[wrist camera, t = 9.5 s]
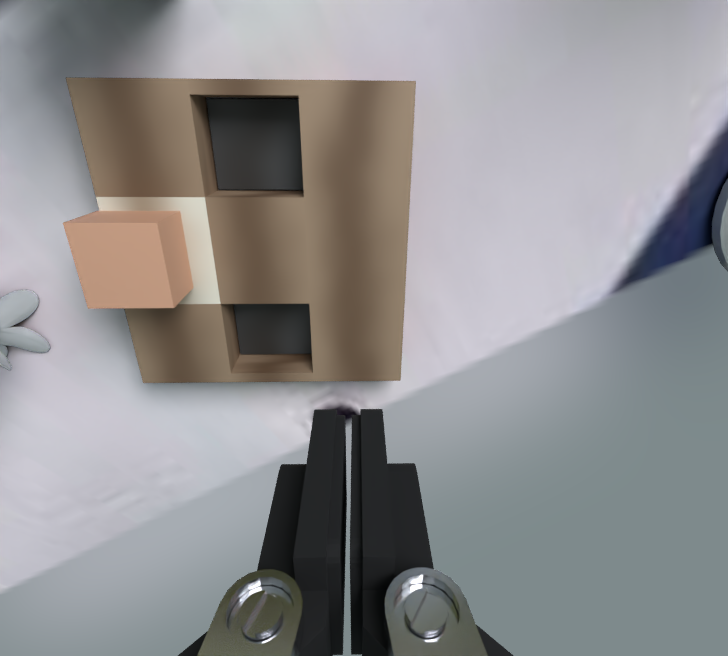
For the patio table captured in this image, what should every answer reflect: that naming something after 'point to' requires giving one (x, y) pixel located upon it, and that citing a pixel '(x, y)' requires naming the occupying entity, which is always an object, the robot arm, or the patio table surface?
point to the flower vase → (11, 312)
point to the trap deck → (264, 220)
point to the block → (130, 258)
